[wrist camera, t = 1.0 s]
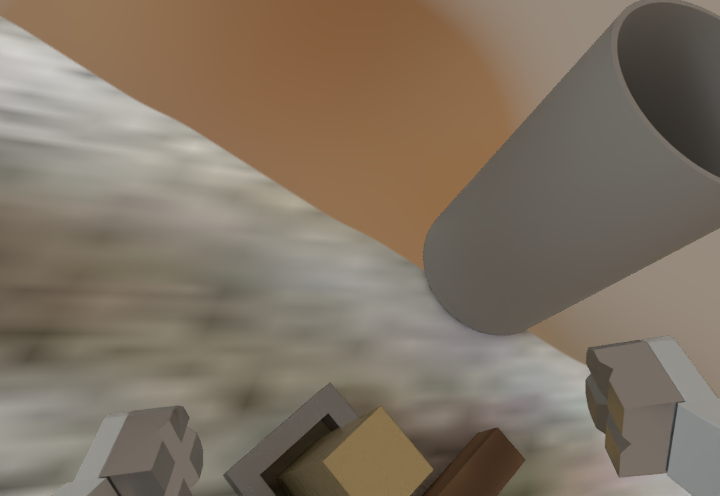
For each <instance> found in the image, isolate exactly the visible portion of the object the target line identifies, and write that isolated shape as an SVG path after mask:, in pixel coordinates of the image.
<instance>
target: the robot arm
mask: <svg viewBox="0 0 720 496" xmlns="http://www.w3.org/2000/svg"><path fill="white" fill-rule="evenodd" d="M586 364H587V366H588V368H589V370H590V372H591V374H590V375H589V376H588V377H587V379H586V397H587V403H588V408H589V411H590V414H591V417H592V419H593V422H594V424H595V426H596V428H597V429H599V430H600V431H602V432H603V433H605V434H606V438H605V448H606V450H607V453H608V455H609V457H610V459H611V461H612V463H613V466H614V468H615V470H616V472H617V474H618V476H619V477H629V476H640V475H651V474H662V473H667V476H669V477H670V478H671V479H672V480H674V481H675V482H676V483H677V484H679V485H680V486H681V487H682V488H684V489H685V490H686V491H687V492H688V493H690V494H691V495H692V496H720V398H718V397H717V395H716V394H715V393H714V391H713V390H712V389H711V387H710V386H709V384H708V383H707V382H706V380H705V379H704V378H703V376H702V375H701V373H700V372H699V371H698V369H697V368H696V367H695V365H694V364H693V363H692V361H691V360H690V359H689V357H688V356H687V355H686V353H685V352H684V350H683V349H682V348H681V346H680V345H679V344H678V342H677V341H676V340H675V338H673V337H671V336H661V337H655V338H648V339H642V340H636V341H629V342H623V343H616V344H609V345H603V346H596V347H589V348H588V350H587V354H586ZM188 421H189V416H188V414H187V412H186V410H185V409H184V407H183V406H170V407H161V408H153V409H144V410H135V411H131V412H122V413H113V414H109V415H108V416H107V417H106V418H105V419H104V420H103V422H102V424H101V426H100V428H99V430H98V432H97V434H96V436H95V438H94V440H93V442H92V444H91V446H90V448H89V450H88V452H87V455H86V457H85V459H84V461H83V463H82V465H81V467H80V469H79V471H78V473H77V475H76V477H75V479H74V481H73V482H69V483H65V484H64V485H63V486H62V487H61V488H60V489H58V490H57V491H56V492H55V493H54V494H53V495H52V496H193V495H192V493H191V491H190V489H191V488H192V486H193V485H194V484H195V483H196V482H197V481H198V480H199V479H200V475H201V471H202V467H203V449H202V444H201V440H200V438H199V436H198V434H197V432H195V431H194V430H192V429H190V428H189V427H187V424H188Z"/></svg>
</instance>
